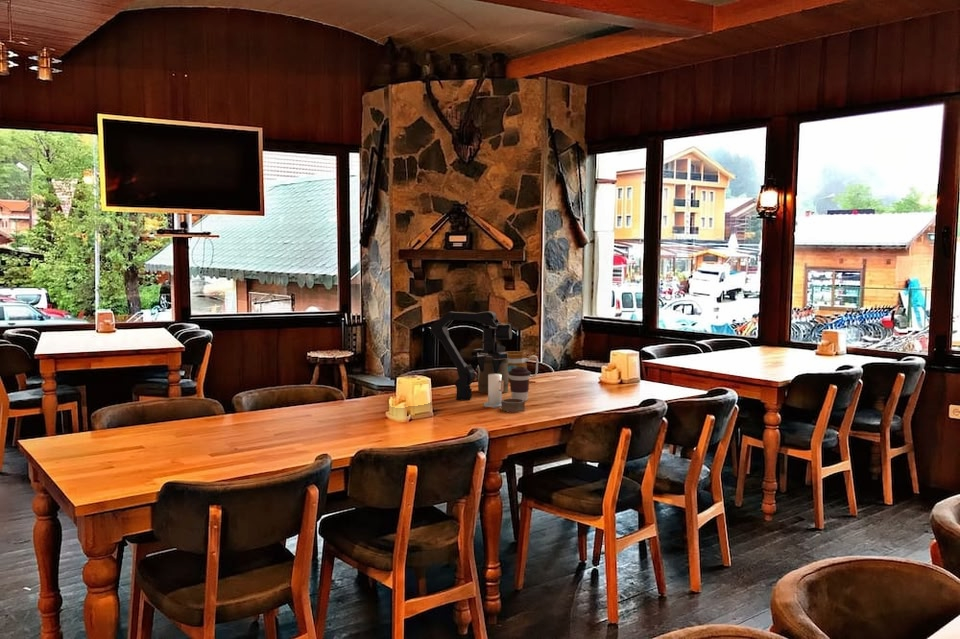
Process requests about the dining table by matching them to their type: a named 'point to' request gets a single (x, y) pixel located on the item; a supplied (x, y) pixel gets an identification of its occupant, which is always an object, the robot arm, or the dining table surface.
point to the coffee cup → (519, 382)
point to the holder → (513, 405)
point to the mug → (519, 361)
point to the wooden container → (490, 370)
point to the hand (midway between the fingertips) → (489, 372)
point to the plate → (491, 405)
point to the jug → (495, 389)
